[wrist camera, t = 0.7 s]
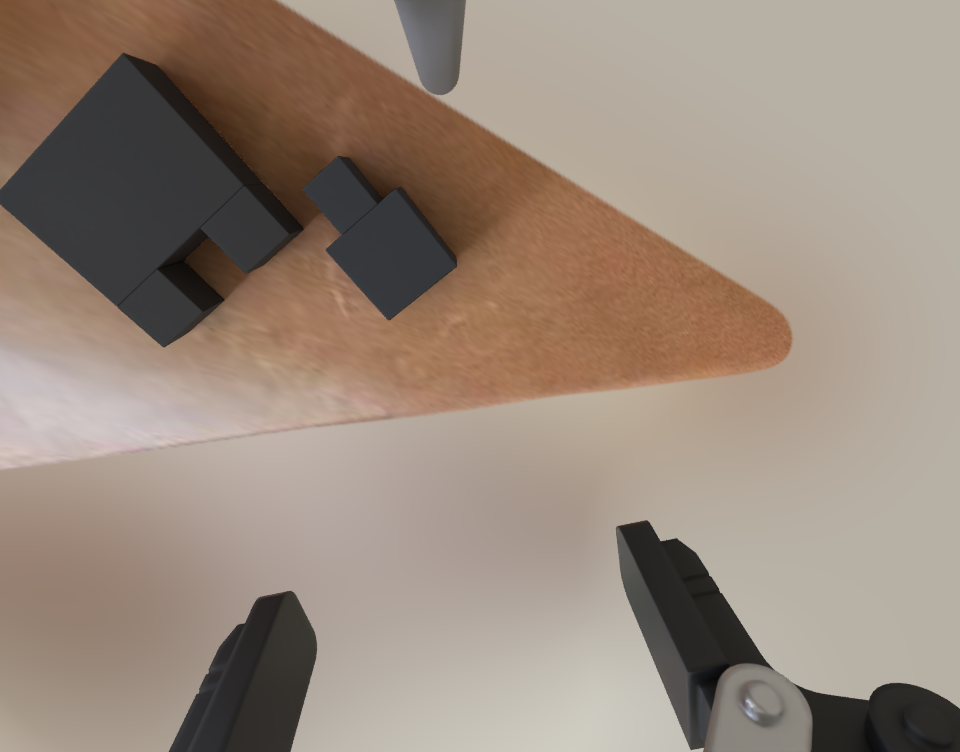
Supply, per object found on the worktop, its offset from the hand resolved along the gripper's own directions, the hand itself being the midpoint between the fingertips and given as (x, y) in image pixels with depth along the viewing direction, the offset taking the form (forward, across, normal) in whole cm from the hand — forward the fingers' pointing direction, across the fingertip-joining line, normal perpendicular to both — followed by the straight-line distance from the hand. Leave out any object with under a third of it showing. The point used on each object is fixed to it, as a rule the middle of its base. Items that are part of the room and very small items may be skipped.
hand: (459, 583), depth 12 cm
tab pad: (+26, +4, -6) cm, 27 cm away
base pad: (+26, +17, -10) cm, 32 cm away
